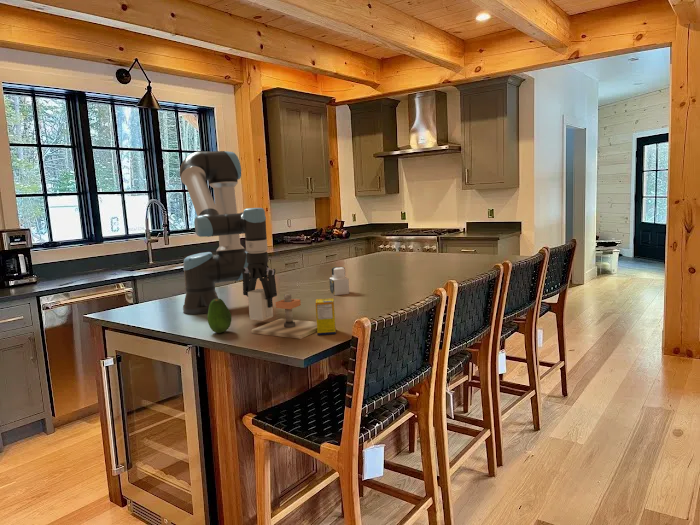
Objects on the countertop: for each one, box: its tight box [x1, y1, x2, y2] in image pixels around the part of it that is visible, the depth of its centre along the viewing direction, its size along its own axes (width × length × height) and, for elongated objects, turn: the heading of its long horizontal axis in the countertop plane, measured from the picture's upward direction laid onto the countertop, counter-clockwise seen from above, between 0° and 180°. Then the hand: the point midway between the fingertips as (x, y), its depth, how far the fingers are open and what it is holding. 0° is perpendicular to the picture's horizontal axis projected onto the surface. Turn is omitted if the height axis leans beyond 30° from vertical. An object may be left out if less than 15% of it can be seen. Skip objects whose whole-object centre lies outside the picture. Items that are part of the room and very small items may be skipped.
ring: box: [275, 298, 302, 310], centre depth 177 cm, size 6×6×2 cm
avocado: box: [206, 297, 232, 334], centre depth 178 cm, size 8×8×12 cm
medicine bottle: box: [329, 266, 350, 296], centre depth 237 cm, size 7×7×12 cm
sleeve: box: [247, 288, 274, 322], centre depth 189 cm, size 6×6×10 cm
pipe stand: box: [251, 293, 317, 340], centre depth 178 cm, size 20×16×12 cm
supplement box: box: [315, 297, 337, 336], centre depth 172 cm, size 6×6×11 cm
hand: (261, 315), depth 189 cm, fingers closed on sleeve, 6 cm apart
